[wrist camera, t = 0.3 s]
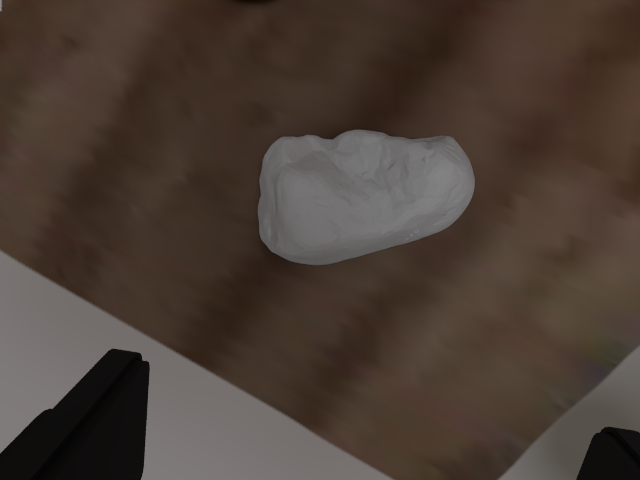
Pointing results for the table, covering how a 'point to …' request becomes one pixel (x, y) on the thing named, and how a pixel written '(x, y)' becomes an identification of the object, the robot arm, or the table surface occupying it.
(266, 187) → the decorative stone
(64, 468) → the robot arm
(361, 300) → the table surface
